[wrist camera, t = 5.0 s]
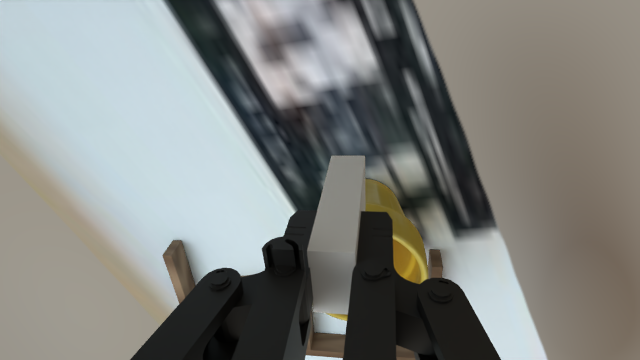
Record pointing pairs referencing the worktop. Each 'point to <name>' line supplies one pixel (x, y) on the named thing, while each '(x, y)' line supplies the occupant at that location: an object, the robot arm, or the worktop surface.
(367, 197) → the plant pot
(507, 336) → the worktop surface
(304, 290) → the robot arm
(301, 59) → the worktop surface
